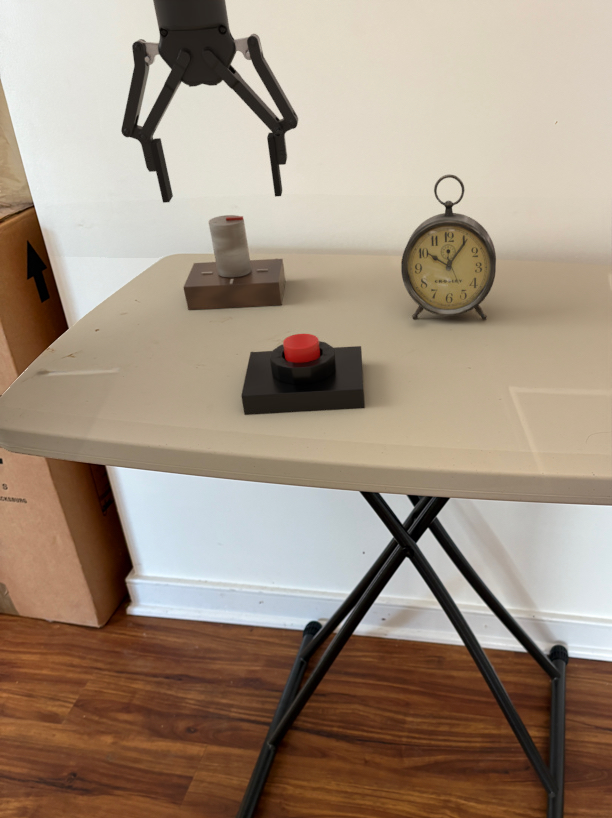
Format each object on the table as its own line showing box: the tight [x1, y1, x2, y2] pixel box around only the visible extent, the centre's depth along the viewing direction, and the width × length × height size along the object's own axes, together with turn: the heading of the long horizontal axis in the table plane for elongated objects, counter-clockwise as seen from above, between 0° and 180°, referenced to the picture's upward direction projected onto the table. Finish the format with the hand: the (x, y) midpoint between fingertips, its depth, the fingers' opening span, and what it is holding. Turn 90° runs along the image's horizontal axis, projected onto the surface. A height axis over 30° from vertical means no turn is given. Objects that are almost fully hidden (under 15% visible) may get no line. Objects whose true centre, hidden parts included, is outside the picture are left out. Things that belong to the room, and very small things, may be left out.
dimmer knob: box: [208, 214, 252, 278], centre depth 97 cm, size 4×4×7 cm
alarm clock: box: [400, 174, 497, 321], centre depth 88 cm, size 11×5×16 cm, turn 83°
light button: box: [282, 333, 320, 363], centre depth 77 cm, size 4×4×2 cm
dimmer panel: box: [183, 258, 286, 311], centre depth 100 cm, size 12×9×3 cm
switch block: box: [240, 340, 366, 416], centre depth 78 cm, size 12×10×4 cm
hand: (223, 196), depth 93 cm, fingers open, 13 cm apart
